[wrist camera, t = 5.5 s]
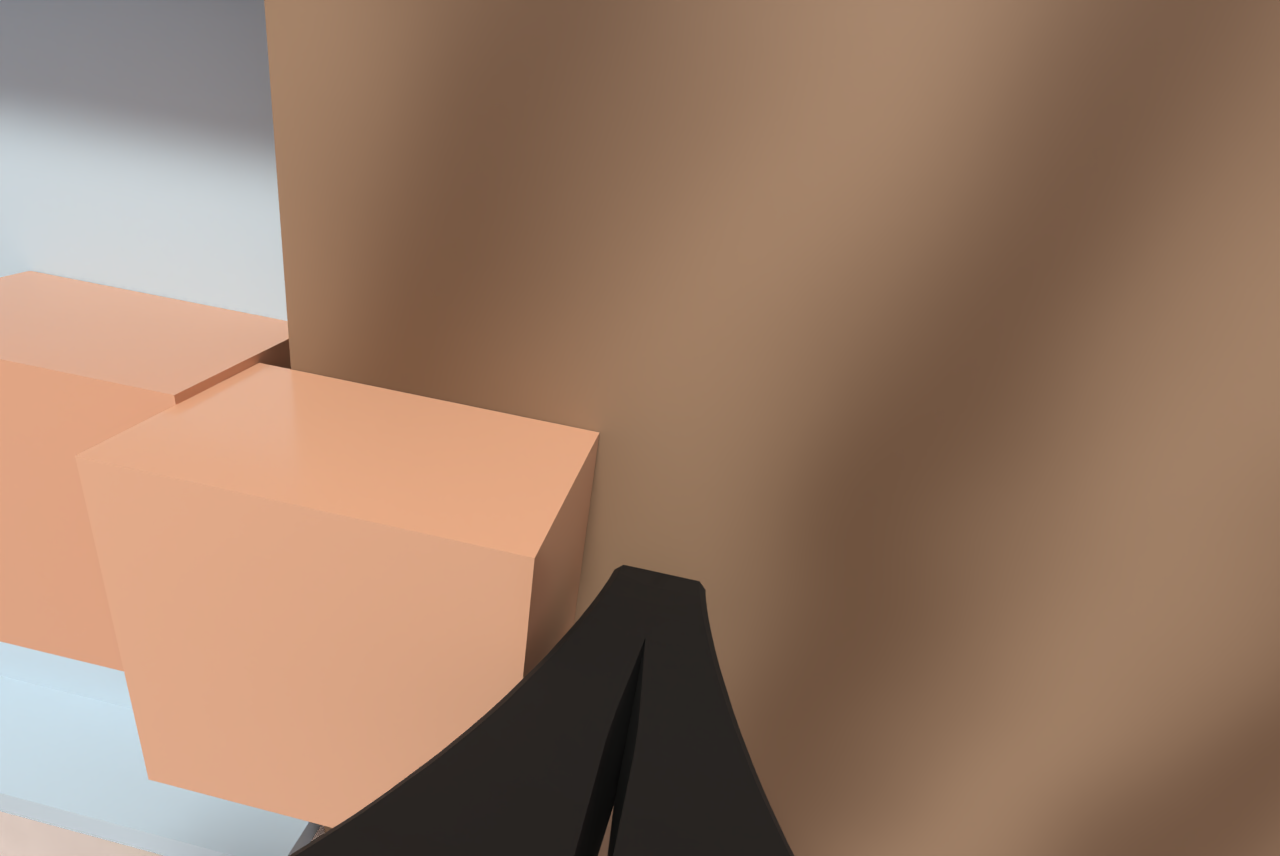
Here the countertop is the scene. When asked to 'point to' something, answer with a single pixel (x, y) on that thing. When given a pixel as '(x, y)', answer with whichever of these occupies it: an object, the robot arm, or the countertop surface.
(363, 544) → the tile
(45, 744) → the tray
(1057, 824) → the board
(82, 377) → the tile
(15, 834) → the countertop surface
